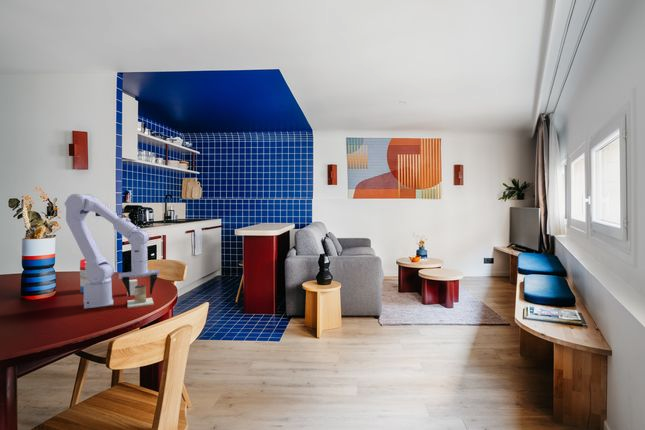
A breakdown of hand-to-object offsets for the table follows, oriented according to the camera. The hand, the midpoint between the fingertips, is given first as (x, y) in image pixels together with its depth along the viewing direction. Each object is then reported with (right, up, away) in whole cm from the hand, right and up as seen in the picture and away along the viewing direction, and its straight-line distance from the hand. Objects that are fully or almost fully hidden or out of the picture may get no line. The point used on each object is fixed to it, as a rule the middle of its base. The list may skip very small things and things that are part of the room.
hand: (140, 294), depth 144 cm
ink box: (-32, -3, +21) cm, 38 cm away
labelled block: (0, -3, 0) cm, 3 cm away
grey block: (-11, -3, +14) cm, 18 cm away
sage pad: (0, -3, 0) cm, 3 cm away
